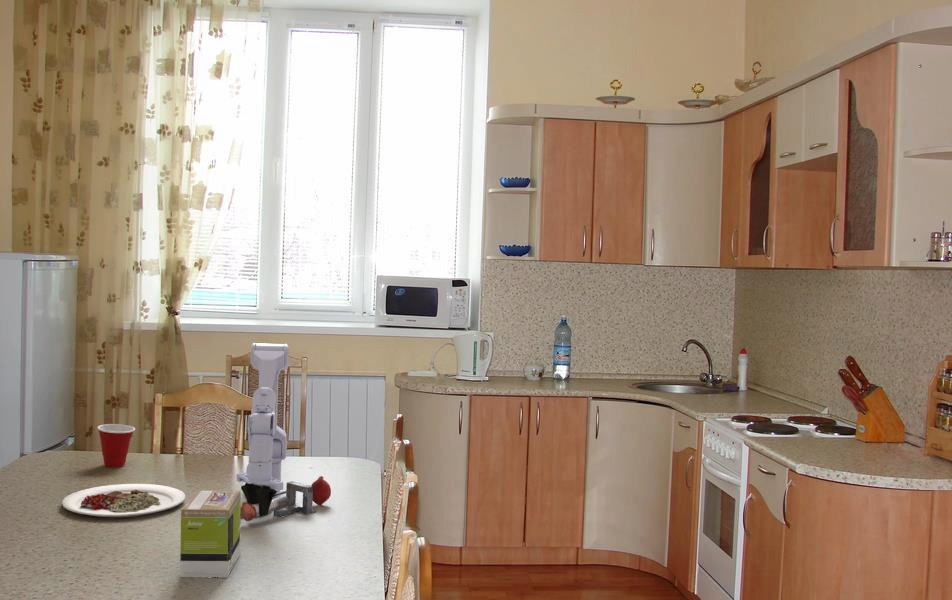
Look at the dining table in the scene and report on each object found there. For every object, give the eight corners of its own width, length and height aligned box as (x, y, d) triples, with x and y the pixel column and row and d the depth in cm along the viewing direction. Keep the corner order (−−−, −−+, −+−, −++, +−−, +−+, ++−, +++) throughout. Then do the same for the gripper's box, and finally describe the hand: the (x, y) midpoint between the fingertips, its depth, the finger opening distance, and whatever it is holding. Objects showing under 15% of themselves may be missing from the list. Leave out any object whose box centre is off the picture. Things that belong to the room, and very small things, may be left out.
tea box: (194, 554, 202) (196, 488, 201) (240, 555, 203) (243, 489, 202) (178, 578, 187) (180, 507, 186) (228, 579, 188) (230, 508, 187)
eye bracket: (264, 513, 235) (265, 487, 235) (291, 505, 244) (292, 480, 243) (289, 520, 230) (290, 493, 230) (316, 512, 239) (317, 486, 238)
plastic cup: (125, 470, 273) (127, 430, 273) (90, 468, 273) (91, 429, 273) (139, 462, 284) (140, 424, 284) (105, 460, 284) (106, 422, 284)
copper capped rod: (240, 519, 225) (240, 502, 225) (278, 508, 236) (279, 492, 236) (252, 522, 223) (252, 505, 223) (290, 511, 234) (291, 495, 234)
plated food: (206, 508, 239) (207, 495, 239) (93, 529, 217) (94, 515, 217) (151, 485, 259) (151, 473, 259) (42, 502, 237) (42, 489, 237)
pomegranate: (325, 509, 242) (326, 479, 241) (305, 507, 243) (306, 477, 242) (333, 503, 247) (334, 474, 247) (313, 501, 248) (314, 472, 248)
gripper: (227, 458, 228) (226, 511, 228) (269, 467, 220) (267, 523, 220) (249, 453, 233) (247, 506, 234) (290, 463, 226) (288, 517, 226)
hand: (258, 514), depth 228 cm, fingers closed on copper capped rod, 3 cm apart
